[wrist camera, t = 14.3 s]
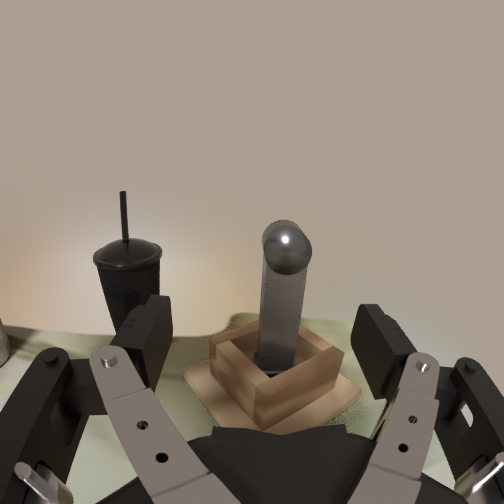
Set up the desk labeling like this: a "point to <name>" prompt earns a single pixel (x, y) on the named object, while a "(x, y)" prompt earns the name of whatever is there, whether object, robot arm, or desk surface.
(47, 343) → the desk surface
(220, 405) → the wooden square box
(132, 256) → the drinking cup
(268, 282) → the ball topped joystick
